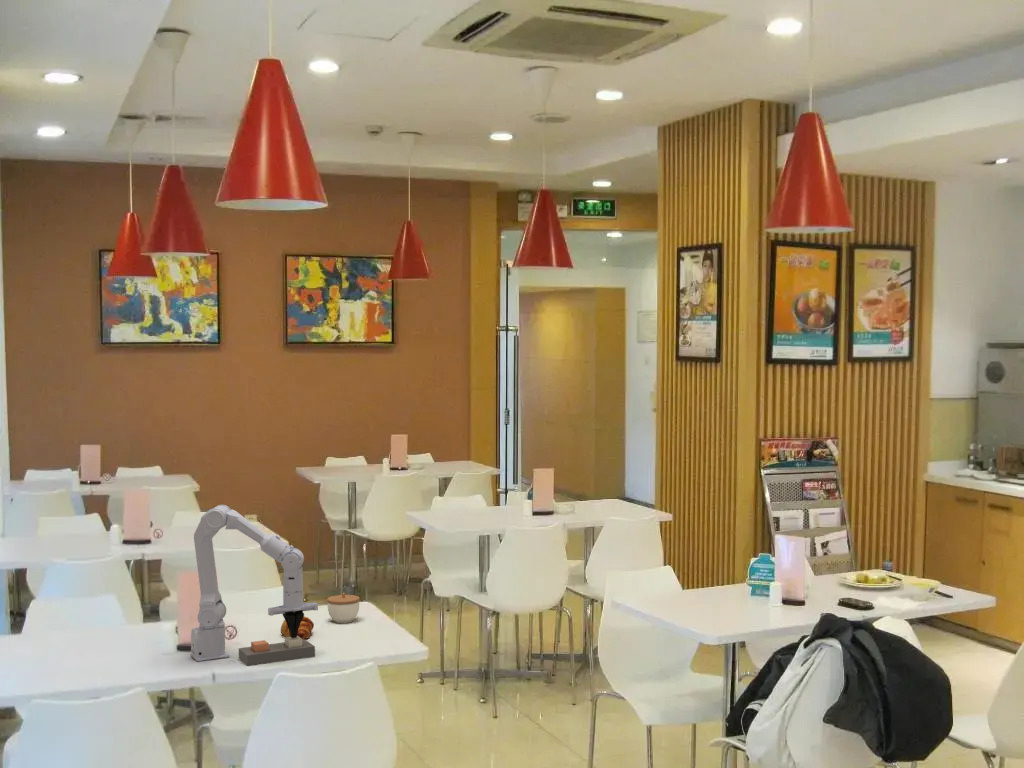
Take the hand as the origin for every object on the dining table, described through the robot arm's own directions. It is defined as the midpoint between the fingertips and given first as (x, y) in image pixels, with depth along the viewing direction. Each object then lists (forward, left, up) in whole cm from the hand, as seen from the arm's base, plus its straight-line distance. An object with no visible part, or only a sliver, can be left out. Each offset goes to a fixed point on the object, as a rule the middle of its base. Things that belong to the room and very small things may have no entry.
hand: (293, 636), depth 315 cm
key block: (-5, 0, -5) cm, 7 cm away
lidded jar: (+28, +33, -6) cm, 44 cm away
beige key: (0, 0, -3) cm, 3 cm away
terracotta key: (-10, 0, -3) cm, 11 cm away
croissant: (+9, +23, -6) cm, 25 cm away
